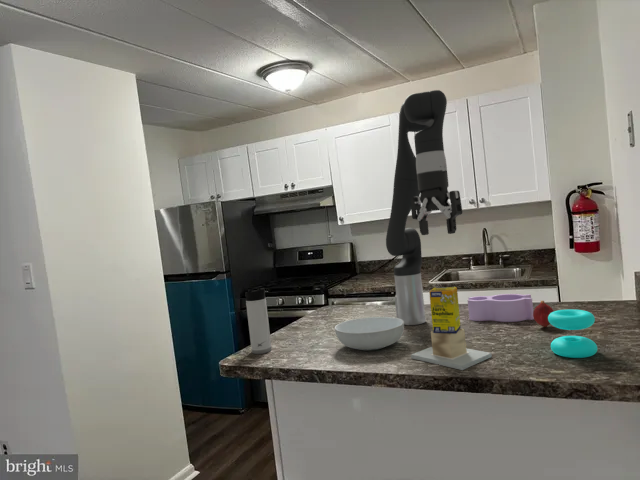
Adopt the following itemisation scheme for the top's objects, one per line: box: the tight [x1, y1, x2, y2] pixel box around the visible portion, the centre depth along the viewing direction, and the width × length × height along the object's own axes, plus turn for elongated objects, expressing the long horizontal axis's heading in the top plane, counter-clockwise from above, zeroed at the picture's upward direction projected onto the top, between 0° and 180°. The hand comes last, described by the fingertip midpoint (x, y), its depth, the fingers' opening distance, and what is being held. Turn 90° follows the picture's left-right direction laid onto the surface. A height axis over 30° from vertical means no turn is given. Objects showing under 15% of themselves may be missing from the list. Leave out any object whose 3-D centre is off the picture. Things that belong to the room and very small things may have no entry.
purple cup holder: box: [467, 293, 535, 323], centre depth 152 cm, size 20×12×7 cm, turn 68°
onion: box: [533, 300, 554, 328], centre depth 135 cm, size 6×6×8 cm
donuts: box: [548, 308, 598, 359], centre depth 110 cm, size 10×10×10 cm
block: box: [430, 328, 467, 358], centre depth 117 cm, size 6×6×6 cm
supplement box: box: [429, 286, 462, 334], centre depth 116 cm, size 6×6×11 cm
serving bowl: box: [334, 316, 405, 351], centre depth 135 cm, size 21×21×7 cm
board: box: [410, 346, 493, 371], centre depth 117 cm, size 16×12×1 cm
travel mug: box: [244, 287, 272, 355], centre depth 143 cm, size 6×7×20 cm
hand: (438, 234), depth 116 cm, fingers open, 8 cm apart
